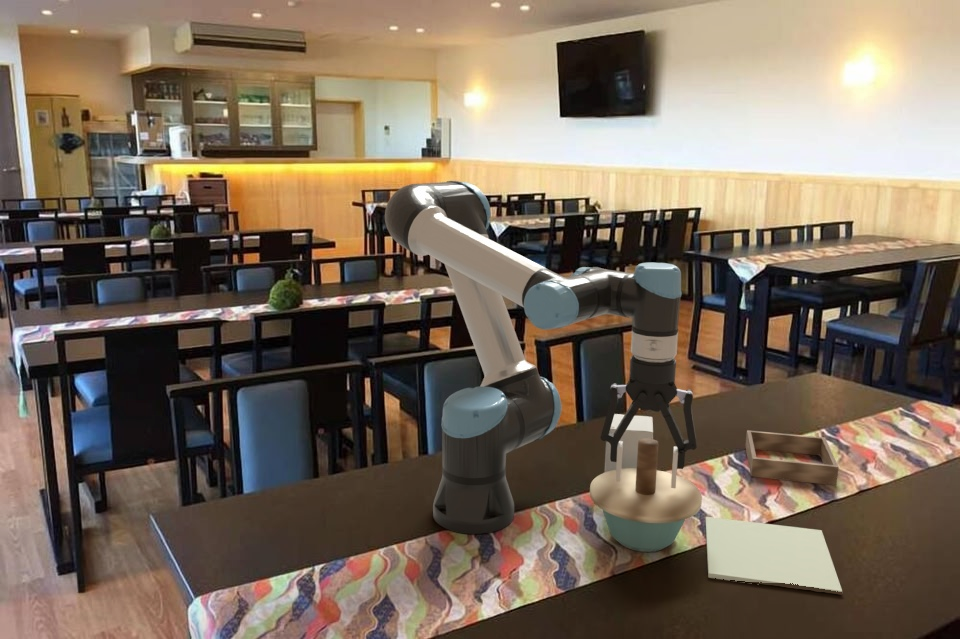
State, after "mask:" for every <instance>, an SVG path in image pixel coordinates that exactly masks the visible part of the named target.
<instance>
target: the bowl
mask: <svg viewBox="0 0 960 639" xmlns="http://www.w3.org/2000/svg"><path fill="white" fill-rule="evenodd" d="M602 511H603V515H604V519H605V521H606V524H607V527H608V529H609V533H610V535H611V536H612V538H613V539H614V540H616V541H617V542H618V543H619V544H620V545H621V546H623V547H625V548H626V549H629V550H632V551H636V552H641V553H642V552H643V553H654V552H658V551H661V550H663V549H665V548H667V547H669V546H671V545H672V544H673V543H674V542H675V540H676V538H677V537H678V534H679V532H680V531H681V529H682V527H683V525H684V522H685V521H686V519H685V520H681V521H677V522H670V523H644V522H637V521H631V520H627V519H623V518H620V517H617V516H614V515H612V514H610V513H607V512H606V511H604V510H602Z"/></svg>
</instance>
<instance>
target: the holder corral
mask: <svg viewBox="0 0 960 639" xmlns="http://www.w3.org/2000/svg"><path fill="white" fill-rule="evenodd" d="M745 435H746V437H745V446H744V447H745V452H746V455H747V456H746V457H747V462H748V468H749V473H750V477H751V478H752V477H755V478H763V479H772V480H782V481H792V482H801V483H810V484H820V485H829V486H837V484H838V483H837V481H838V475H839V465H838V463H837V461H836V459H835V457H834V454H833V452H832V449H831V447H830V446H829V443H828V441H827V438H826V437H825V436H824V437H823V436H811V435H803V434H802V435H801V434H792V433H790V434H789V433H780V432H768V431H758V430H749V429H747V430H746V434H745ZM756 450H761V451H762V450H763V451H773V452H783V453H792V454H804V455H812V456H813V455H814V456H820V459H821V462H822V463H818V462H817V463H816V462H807V461H806V462H805V461H795V460H786V459H784V460H783V459H776V458H768V457H767V458H764V457H757V454H756Z"/></svg>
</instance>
